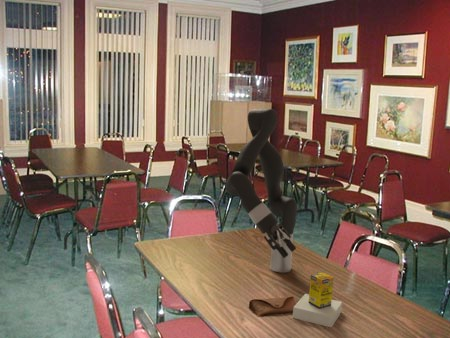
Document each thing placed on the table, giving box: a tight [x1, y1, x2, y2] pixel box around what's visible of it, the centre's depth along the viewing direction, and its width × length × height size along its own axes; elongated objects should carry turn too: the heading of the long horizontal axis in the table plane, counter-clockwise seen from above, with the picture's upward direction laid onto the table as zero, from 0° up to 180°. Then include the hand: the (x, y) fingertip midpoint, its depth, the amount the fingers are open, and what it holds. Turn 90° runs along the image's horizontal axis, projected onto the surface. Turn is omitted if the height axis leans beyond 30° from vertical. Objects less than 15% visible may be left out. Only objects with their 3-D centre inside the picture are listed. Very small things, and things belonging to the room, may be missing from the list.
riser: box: [292, 293, 343, 328], centre depth 184 cm, size 14×14×4 cm
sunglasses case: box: [248, 296, 297, 318], centre depth 187 cm, size 18×7×7 cm, turn 107°
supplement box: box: [308, 272, 335, 309], centre depth 182 cm, size 6×6×11 cm
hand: (290, 253), depth 186 cm, fingers open, 8 cm apart
